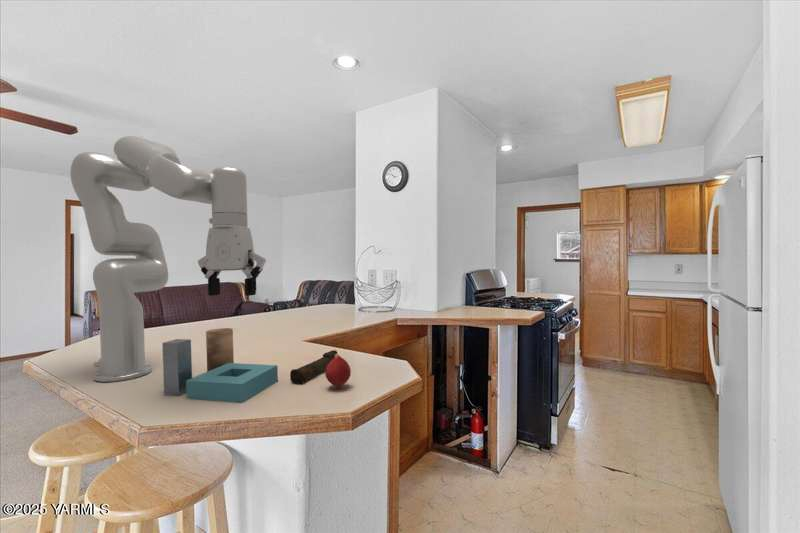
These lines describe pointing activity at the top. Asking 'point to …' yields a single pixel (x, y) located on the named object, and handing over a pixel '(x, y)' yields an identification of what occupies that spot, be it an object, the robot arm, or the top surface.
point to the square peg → (176, 366)
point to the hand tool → (311, 368)
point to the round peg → (219, 347)
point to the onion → (338, 371)
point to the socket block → (232, 382)
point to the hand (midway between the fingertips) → (232, 295)
